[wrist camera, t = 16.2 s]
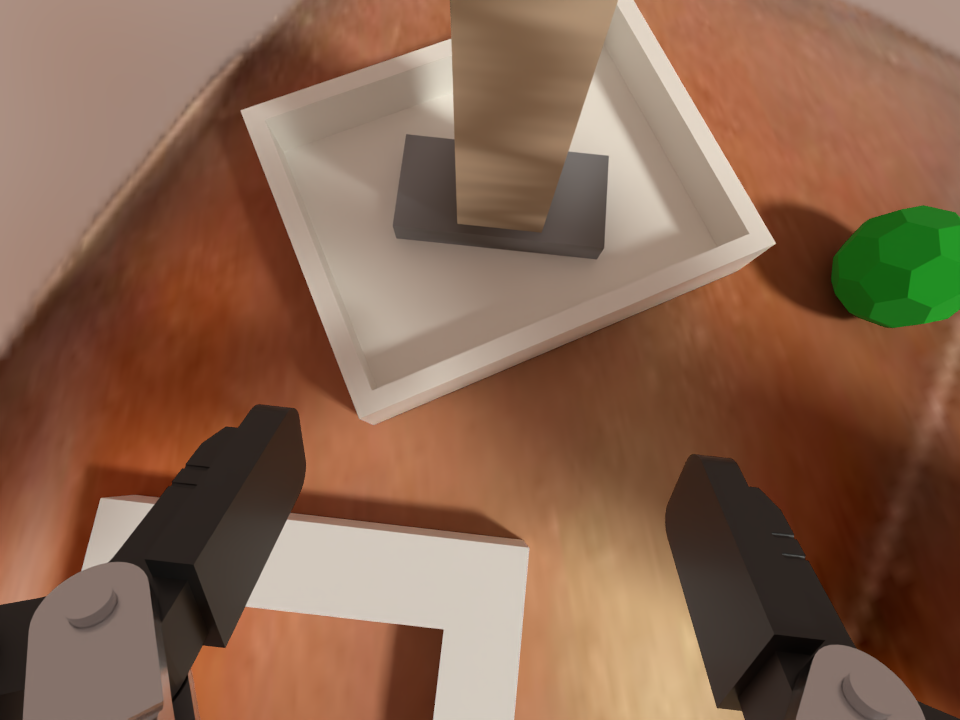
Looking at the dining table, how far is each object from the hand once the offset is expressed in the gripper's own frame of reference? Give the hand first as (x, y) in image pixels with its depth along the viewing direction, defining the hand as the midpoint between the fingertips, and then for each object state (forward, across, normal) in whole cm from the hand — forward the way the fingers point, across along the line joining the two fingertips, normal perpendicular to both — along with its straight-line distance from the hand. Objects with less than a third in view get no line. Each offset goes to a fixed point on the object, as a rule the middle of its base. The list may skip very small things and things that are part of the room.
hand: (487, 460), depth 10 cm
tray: (+16, 0, 0) cm, 16 cm away
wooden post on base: (+15, 0, -1) cm, 15 cm away
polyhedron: (+15, -17, +1) cm, 23 cm away
